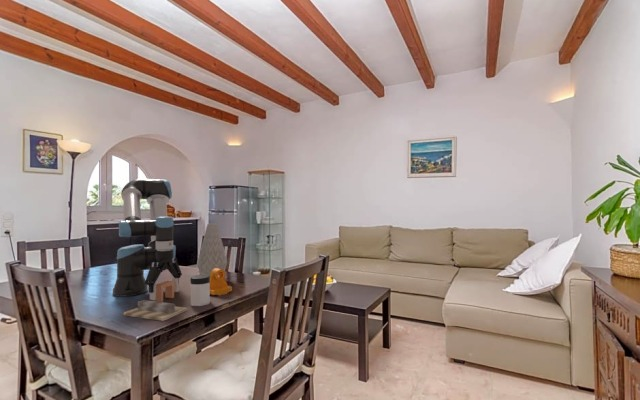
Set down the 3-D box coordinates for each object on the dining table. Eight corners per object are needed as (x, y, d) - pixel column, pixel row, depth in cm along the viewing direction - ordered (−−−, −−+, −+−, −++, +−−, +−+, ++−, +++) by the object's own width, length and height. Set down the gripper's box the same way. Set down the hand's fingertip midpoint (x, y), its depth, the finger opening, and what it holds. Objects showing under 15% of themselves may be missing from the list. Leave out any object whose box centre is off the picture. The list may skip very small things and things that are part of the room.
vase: (222, 285, 179) (222, 224, 180) (192, 285, 180) (192, 224, 180) (231, 278, 196) (231, 222, 196) (203, 278, 196) (203, 222, 197)
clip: (154, 301, 151) (154, 284, 151) (167, 296, 158) (167, 280, 158) (161, 302, 149) (161, 285, 149) (174, 297, 157) (174, 281, 157)
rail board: (123, 315, 132) (123, 305, 132) (149, 305, 144) (149, 296, 144) (163, 320, 126) (163, 310, 126) (187, 310, 138) (187, 300, 138)
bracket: (213, 296, 158) (213, 271, 158) (205, 294, 163) (205, 269, 163) (232, 292, 166) (232, 268, 166) (225, 289, 171) (225, 266, 171)
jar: (204, 299, 154) (204, 273, 154) (214, 302, 148) (214, 276, 148) (186, 304, 147) (186, 276, 147) (195, 307, 141) (195, 279, 142)
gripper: (149, 254, 141) (149, 304, 141) (189, 246, 165) (189, 289, 164) (135, 253, 143) (135, 302, 143) (177, 246, 167) (177, 288, 167)
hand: (164, 295), depth 154 cm, fingers open, 13 cm apart
